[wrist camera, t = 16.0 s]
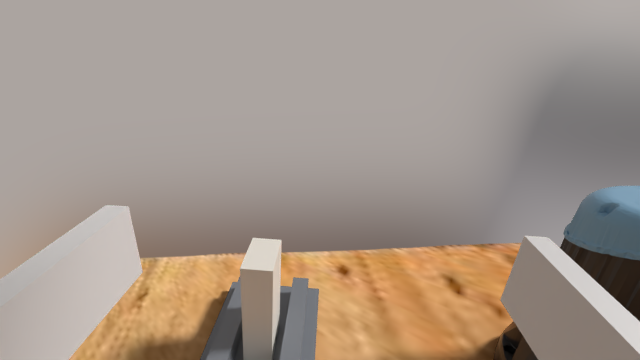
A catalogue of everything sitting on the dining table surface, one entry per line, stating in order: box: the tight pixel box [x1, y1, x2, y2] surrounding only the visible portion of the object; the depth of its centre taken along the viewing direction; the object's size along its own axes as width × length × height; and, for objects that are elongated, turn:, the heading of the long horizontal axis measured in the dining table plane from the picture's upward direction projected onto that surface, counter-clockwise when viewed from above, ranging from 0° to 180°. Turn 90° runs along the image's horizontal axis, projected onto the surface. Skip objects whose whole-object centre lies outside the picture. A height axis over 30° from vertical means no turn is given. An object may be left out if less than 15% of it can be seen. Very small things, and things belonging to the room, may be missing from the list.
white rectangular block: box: [240, 238, 281, 360], centre depth 33 cm, size 3×5×12 cm, turn 178°
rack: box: [200, 277, 319, 360], centre depth 35 cm, size 12×18×4 cm, turn 178°
